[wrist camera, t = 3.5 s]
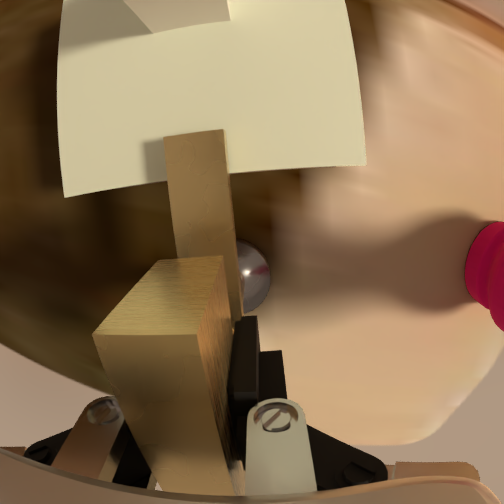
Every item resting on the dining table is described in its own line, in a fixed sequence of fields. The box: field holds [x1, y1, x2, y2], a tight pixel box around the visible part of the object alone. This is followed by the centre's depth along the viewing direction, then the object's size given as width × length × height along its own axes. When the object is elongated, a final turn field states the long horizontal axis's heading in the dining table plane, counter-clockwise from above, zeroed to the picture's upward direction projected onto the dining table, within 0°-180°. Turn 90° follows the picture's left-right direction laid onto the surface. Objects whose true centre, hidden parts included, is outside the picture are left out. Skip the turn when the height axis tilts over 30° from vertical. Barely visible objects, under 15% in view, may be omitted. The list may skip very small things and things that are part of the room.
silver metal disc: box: [236, 238, 270, 314], centre depth 18 cm, size 4×4×1 cm
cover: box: [57, 0, 367, 198], centre depth 8 cm, size 12×12×6 cm
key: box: [92, 129, 246, 496], centre depth 11 cm, size 12×2×12 cm, turn 5°
